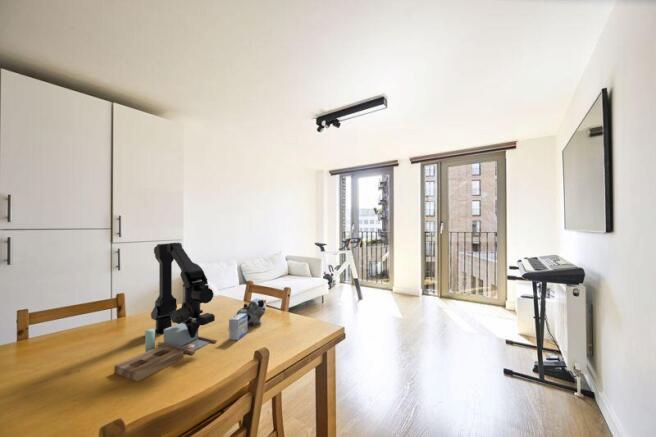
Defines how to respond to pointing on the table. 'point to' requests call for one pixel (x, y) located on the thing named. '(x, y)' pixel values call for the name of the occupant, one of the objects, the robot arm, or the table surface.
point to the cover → (178, 335)
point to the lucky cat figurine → (254, 311)
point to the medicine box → (238, 326)
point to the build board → (148, 362)
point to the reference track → (191, 345)
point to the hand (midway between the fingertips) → (192, 337)
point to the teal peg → (149, 339)
